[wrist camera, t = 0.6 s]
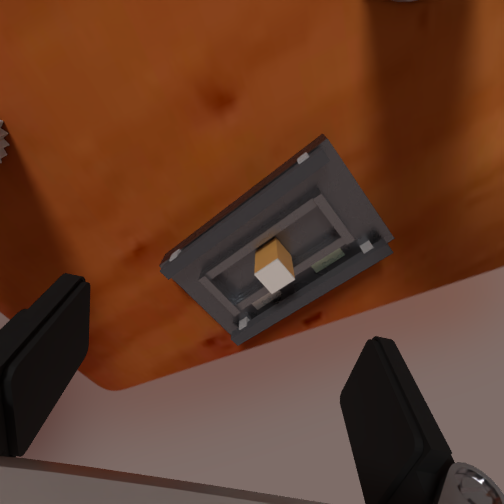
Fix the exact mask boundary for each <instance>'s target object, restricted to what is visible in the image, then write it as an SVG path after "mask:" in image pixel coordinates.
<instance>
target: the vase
mask: <svg viewBox="0 0 504 504" xmlns="http://www.w3.org/2000/svg"><path fill="white" fill-rule="evenodd" d="M3 122H4V121H1V120H0V163H2V161H1V158H3V157H5V156H7V153H6V151H5V150H4V148H5V147H7V146H9V143H8V142H7V141H6V140H5V139H4V137H5V136H6V135H8V134H9V133H7V132H6V131H4V130H3V129H1V126H2V124H3Z"/></svg>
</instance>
